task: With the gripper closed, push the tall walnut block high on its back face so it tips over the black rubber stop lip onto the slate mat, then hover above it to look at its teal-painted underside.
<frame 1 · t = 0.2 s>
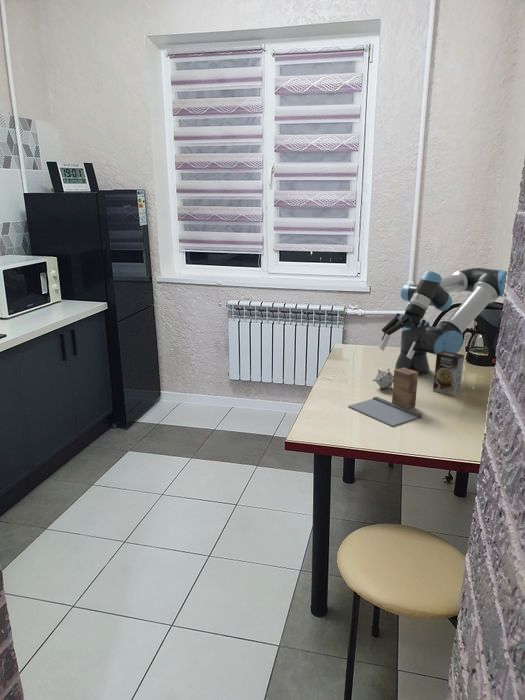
hand: (394, 353, 207), 16 cm above the table, tool tilted 35°, fingers open, 13 cm apart
walnut block: (403, 406, 195), on the table
game die: (384, 388, 214), on the table
stop lip: (396, 408, 193), on the table
coffee box: (446, 392, 210), on the table
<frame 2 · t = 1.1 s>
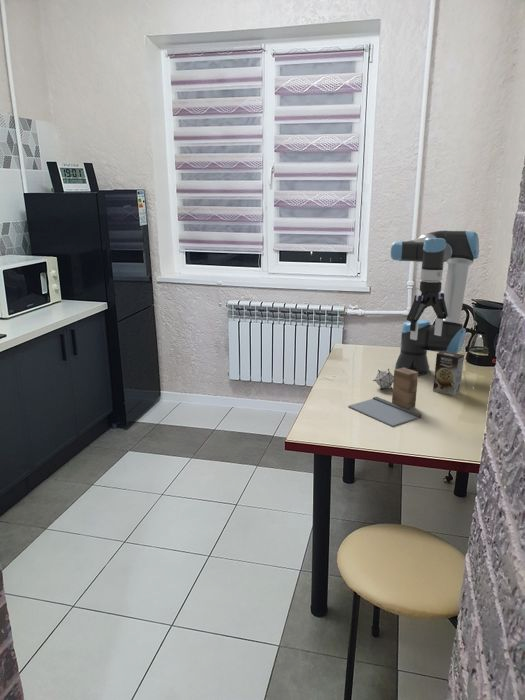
hand: (425, 337, 194), 25 cm above the table, tool pointing down, fingers open, 13 cm apart
nothing on the table moved.
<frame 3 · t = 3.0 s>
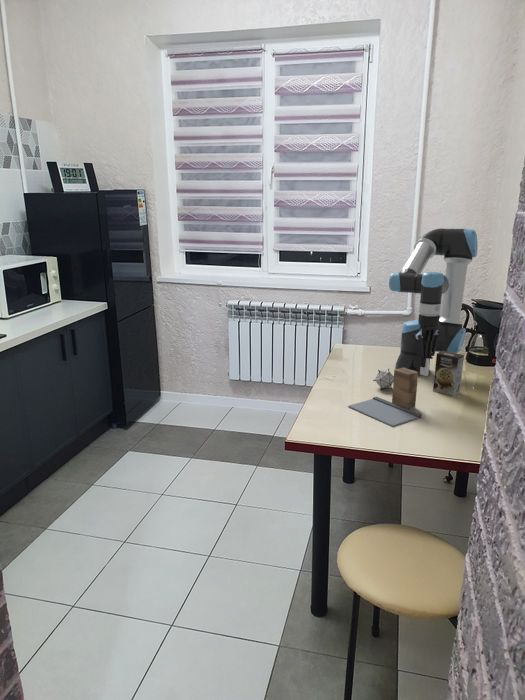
hand: (423, 374, 198), 11 cm above the table, tool pointing down, fingers closed
nothing on the table moved.
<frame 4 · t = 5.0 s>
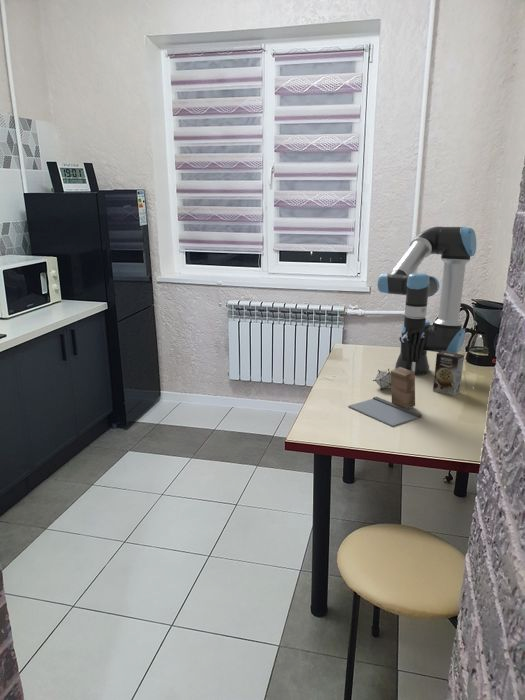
hand: (410, 378, 193), 11 cm above the table, tool pointing down, fingers closed
walnut block: (403, 405, 195), on the table, tilted 8°
everything else where it was.
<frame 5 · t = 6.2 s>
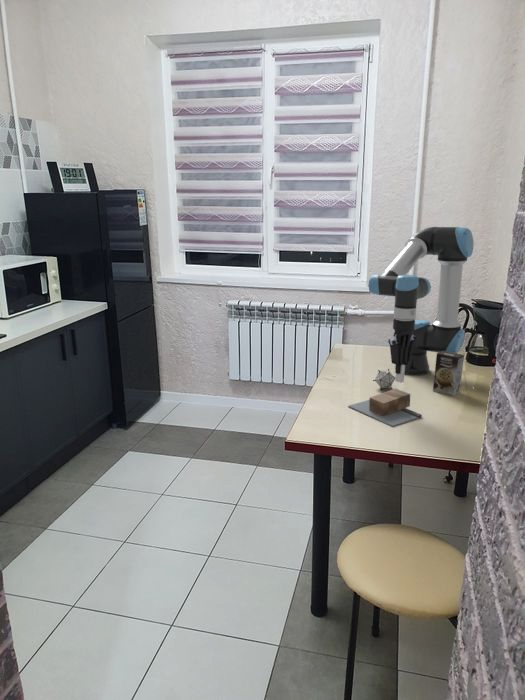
hand: (399, 381, 190), 11 cm above the table, tool pointing down, fingers closed
walnut block: (402, 397, 193), point 4 cm above the table, tilted 93°, touching stop lip
everything else where it was.
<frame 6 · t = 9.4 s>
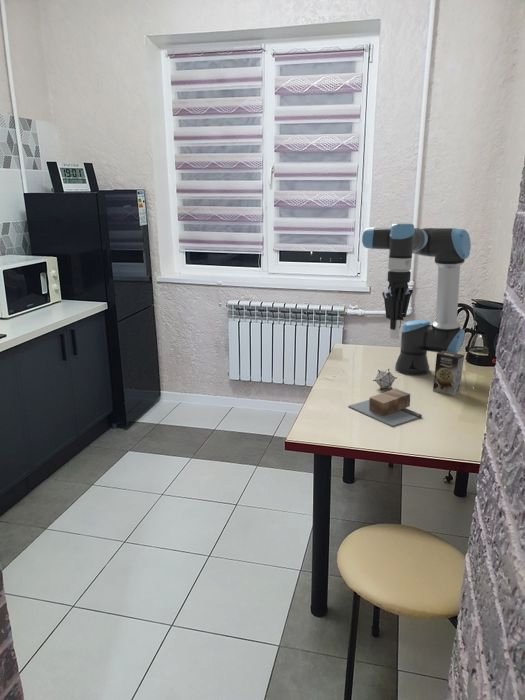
hand: (394, 338, 180), 28 cm above the table, tool pointing down, fingers closed
nothing on the table moved.
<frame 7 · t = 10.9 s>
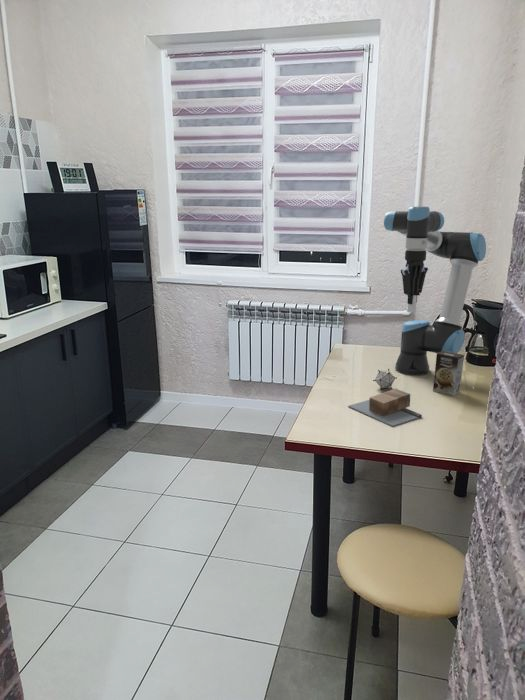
hand: (411, 312, 197), 34 cm above the table, tool pointing down, fingers closed
nothing on the table moved.
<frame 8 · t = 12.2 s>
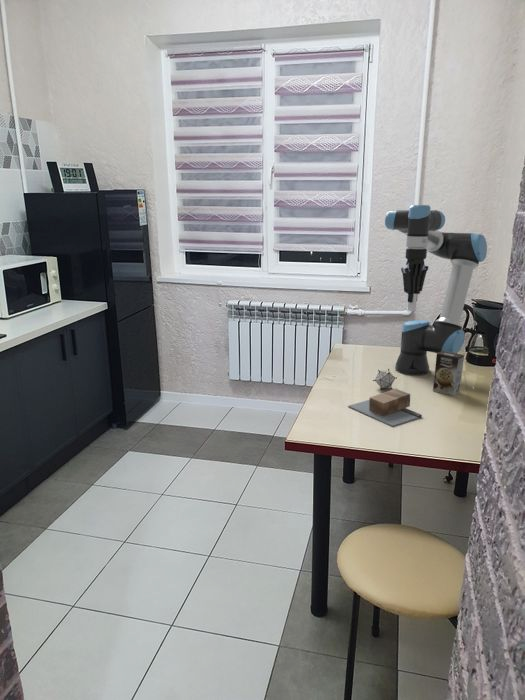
hand: (411, 310, 197), 34 cm above the table, tool pointing down, fingers closed
nothing on the table moved.
at the end: walnut block tilted 93°; walnut block moved 3.8 cm from its start; walnut block inside the target area (4.7 cm from its centre), point 3.7 cm above the table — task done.
